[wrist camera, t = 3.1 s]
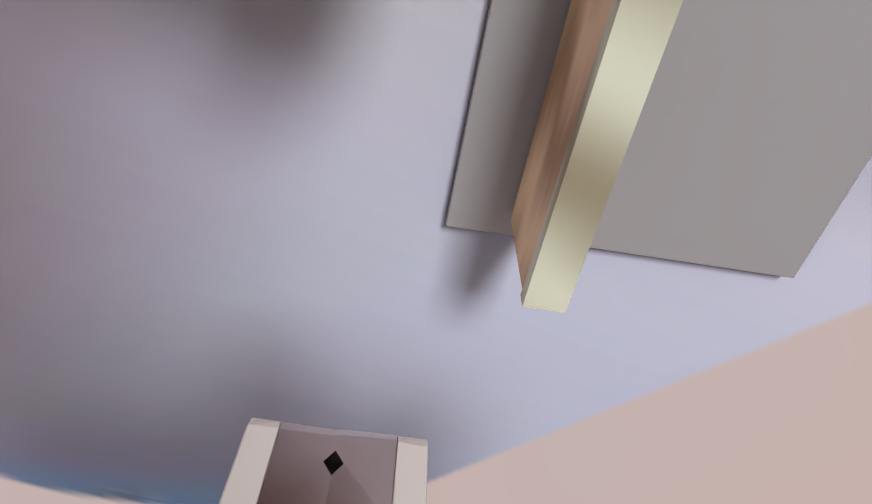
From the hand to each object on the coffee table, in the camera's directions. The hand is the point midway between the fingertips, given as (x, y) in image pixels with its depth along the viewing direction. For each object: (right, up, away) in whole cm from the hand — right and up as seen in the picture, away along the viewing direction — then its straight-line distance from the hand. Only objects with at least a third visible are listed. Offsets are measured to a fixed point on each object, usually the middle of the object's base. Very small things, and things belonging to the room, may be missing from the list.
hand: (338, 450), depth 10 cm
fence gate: (+6, +9, +10) cm, 15 cm away
